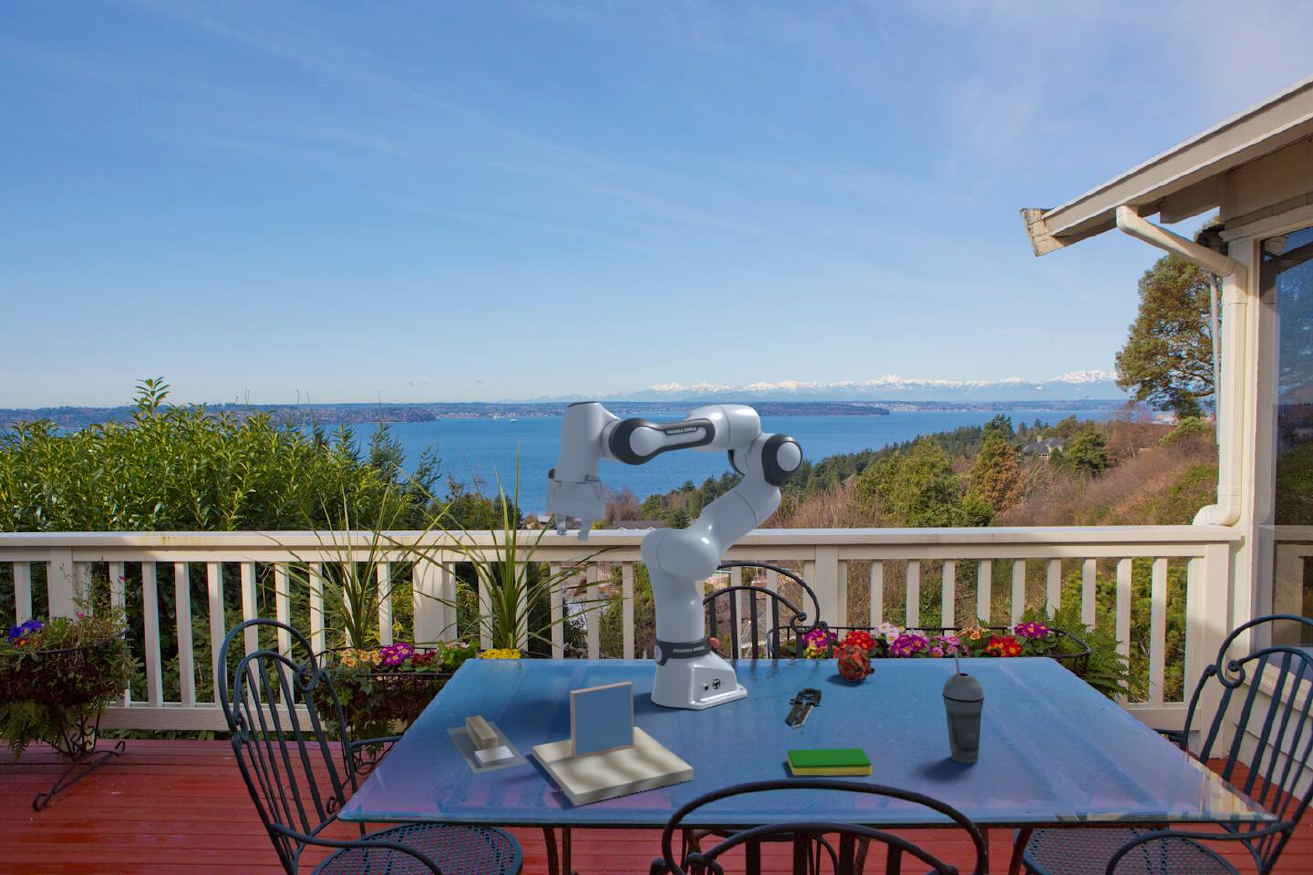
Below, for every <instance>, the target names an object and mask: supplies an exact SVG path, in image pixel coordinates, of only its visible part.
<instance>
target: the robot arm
mask: <svg viewBox="0 0 1313 875" xmlns="http://www.w3.org/2000/svg"><path fill="white" fill-rule="evenodd" d="M761 427H762V426H761V417H760V416H759V413H757V411H756V410H755V409H754V408H753V407H751V406H748V405H745V404H732V403H729V404H727V403H726V404H725V403H723V404H714V405H713V404H712V405H706V406H701V407H699V408H695V409H692V410H689V411H688V412H687V414H685V416H684V418H683V420H676V421H669V422H662V423H656V422H652V421H650V420H648V419H645V418H641V417H632V418H631V417H630V418H627V419H626V418H625V419H621V418H619V417H618V416H615V415H614V414H612V413H611V412H610V411H608V410H607V409H606V408H605V407H603V405H602V404H601V402H599V401H596V400H590V401H589V400H587V401H580V402H579V401H577V402H572V403H570V404H569V405H567V406H566V408H565V410H564V414H563V417H562V423H561V429H560V430H561V431H560V440H559V441H560V444H561V445H560V446H561V448H560V453H559V456H558V460H557V464H555V466H553V467H552V468H550V469H548V470H547V472H546V479H547V480H548V483H547V485H546V493H545V494H546V496H545V507H546V511H547V513H551V514H555V515H554V520H555V525H556V535H558V536H562V537H563V536H564V537H566V536H567V535H568V534H567V533H568V528H567V527H566V520H567V517H571V518H576V519H580V524H581V527H580V530H579V531H578V532H577V540H578V541H582V542H587V541H588V540H589V533H590V532H591V529H592V527H593V524H594V521H595V522H601V521H603V519H604V518H605V511H606V495H605V493H606V492H605V488H604V486H603V482H602V481H601V478H600V476H598V475H599V465H600V459H602V460H603V461H604V460H605V461H606V462H610V463H616V464H619V463H620V464H627V465H630V466H642V465H644V464H646V463H648V462H650V461H651V460H653V459H654V458H656V457H657V456H659V455H661V454H662V453H668V452H675V451H680V450H686V449H690V450H691V451H692V452H697V453H698V452H699V453H715V452H716V453H717V452H722V451H723V452H724V451H727V459H728V462H729V465H730V467H731V469H732V470H733V471H735V473H737V474H739V475H741V476H743V478H742V480H741V481H740V482H739V483H738V484H737V485H736V486H734V487H733V488H731V489H729V490H728V491H727V492H725V493H723V494H722V495H721V496H719V497H718V498H716V499H715V500H713V501H712V502H710V503H709V504H707V505H706V506H704V507H703V508H702V510H701V511H700V515H699V516H698V518H697V519H695V521H694V522H693V523H692V524H691V525H689V526H687V527H685V528H682V529H679V528H673V527H661V528H660V527H659V528H657V529H656V528H655V529H653V530H651V531H649V532H647V534H646V535H645V536H644V537H643V539H642V541H641V543H640V555H641V559H642V560H643V562H644V564H645V566H646V569H647V572H648V576H649V580H650V585H651V586H650V587H651V590H652V594H653V600H654V607H655V634H656V636H655V637H654V659H655V674H654V683H653V688H652V692H651V696H650V699H651V701H652V702H653V703H655V704H657V705H660V706H664V707H670V708H683V709H684V708H685V709H692V710H704V709H707V708H708V709H709V708H711V707H714V706H718V705H722V704H726V703H729V702H732V701H733V702H734V701H735V700H739V699H743V698H746V697H747V696H748V692H747V691H748V690H747V688H745V687H744V686H743V685H741V684H740V683H738V681H737V675H736V673H735V668H733V667H732V665H731V664H730V663H729V662H727V661H725V659H723V658H721V656H719V655H717V654H716V653H715V652H713V651H712V649H711V647H712V648H713V649H717V648H719V646H720V640H719V639H718V638H715V637H711V638H710V637H709V636H706V635H705V625H704V623H705V622H704V602H703V600H702V598H701V596H700V594H699V593H698V591H697V588H696V585H695V584H696V583H695V582H697V581H704V580H706V579H709V578H710V577H712V576H713V575H714V574H715V572H716V571H717V569H718V567H719V563H720V559H721V558H722V556H724V554H725V553H726V552H727V551H728V550H729V549H730V548H731V547H733V545H735V544H736V543H737V542H739V541H741V539H743V538H744V537H745V536H747V535H748V534H750V533H751V532H753V531H754V530H755V529H756V528H757V527H760V526H761V525H762V524H763V523H764V522H766V520H767V519H769V518H770V517H771V516H772V515H773V514H774V512H776V510H777V509H778V508H779V507H780V505H781V501H782V495H781V491H780V489H779V488H780V487H781V488H782V487H785V486H787V485H788V484H789V483H790V481H791V479H792V477H793V476H795V474H797V473H798V471H799V469H800V468H801V466H802V463H803V459H804V451H803V448H802V446H801V444H800V442H799V441H798V440H796V438H794V437H792V436H790V435H787V434H783V433H772V432H771V433H769V432H767V433H765V432H764V431H763V430H762V428H761Z"/></svg>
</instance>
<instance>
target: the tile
mask: <svg viewBox="0 0 1313 875" xmlns="http://www.w3.org/2000/svg"><path fill="white" fill-rule="evenodd" d="M633 686H634V685H633V682H631V681H625V682H618V683H612V684H607V685H600V686H593V687H588V688H581V689H576V690H570V691H569V709H570V710H569V713H570V739H571V756H572V757H573V758H574V759H578V758H582V757H587V756H592V755H597V754H602V753H607V752H612V751H617V750H622V749H627V748H632V747H634V727H635V726H634V724H635V723H634V720H635V719H634V692H633V691H634V689H633V688H634V687H633Z"/></svg>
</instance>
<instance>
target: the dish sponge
mask: <svg viewBox="0 0 1313 875" xmlns="http://www.w3.org/2000/svg"><path fill="white" fill-rule="evenodd" d="M787 763H788V765H790V766H789V768H790V767H791V768H790V770H792V771H791V773H793V774H794V775H823V776H861V775H862V776H867V775H869V776H870V775H872V762H871V761H870V759H869V757H868V755H867V754H866V753H865V751H864V749H863V748H826V749H825V748H823V749H822V748H821V749H819V748H818V749H788V750H787ZM793 774H792V775H793ZM794 775H793V776H794Z"/></svg>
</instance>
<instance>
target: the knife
mask: <svg viewBox="0 0 1313 875" xmlns="http://www.w3.org/2000/svg"><path fill="white" fill-rule="evenodd" d="M822 694H823V693H822V690H821V689H816V688H814V687H808V688H807V687H806V688H803V689H802V690H800V691H798V693H797V695H796V698H790V702H792V704H793V707H792V708H791V709H790V711H789V713H788V715H787V716H786V718H785V721H786V722H787V723H788V724H790V726H792V729H796V728H799V727H801V726H804V725H805V723H806V721H807V720H808V717H809V715H810V714H811V712H812V710H813V708H814V707H815V706H816V707H817V706H818V707H820V705H821V704H820V702H821V701H820V700H822ZM807 695H810V696H807ZM802 698H804V701H806V703H805V704H804V701H803V700H802ZM808 700H809V701H808Z"/></svg>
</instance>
